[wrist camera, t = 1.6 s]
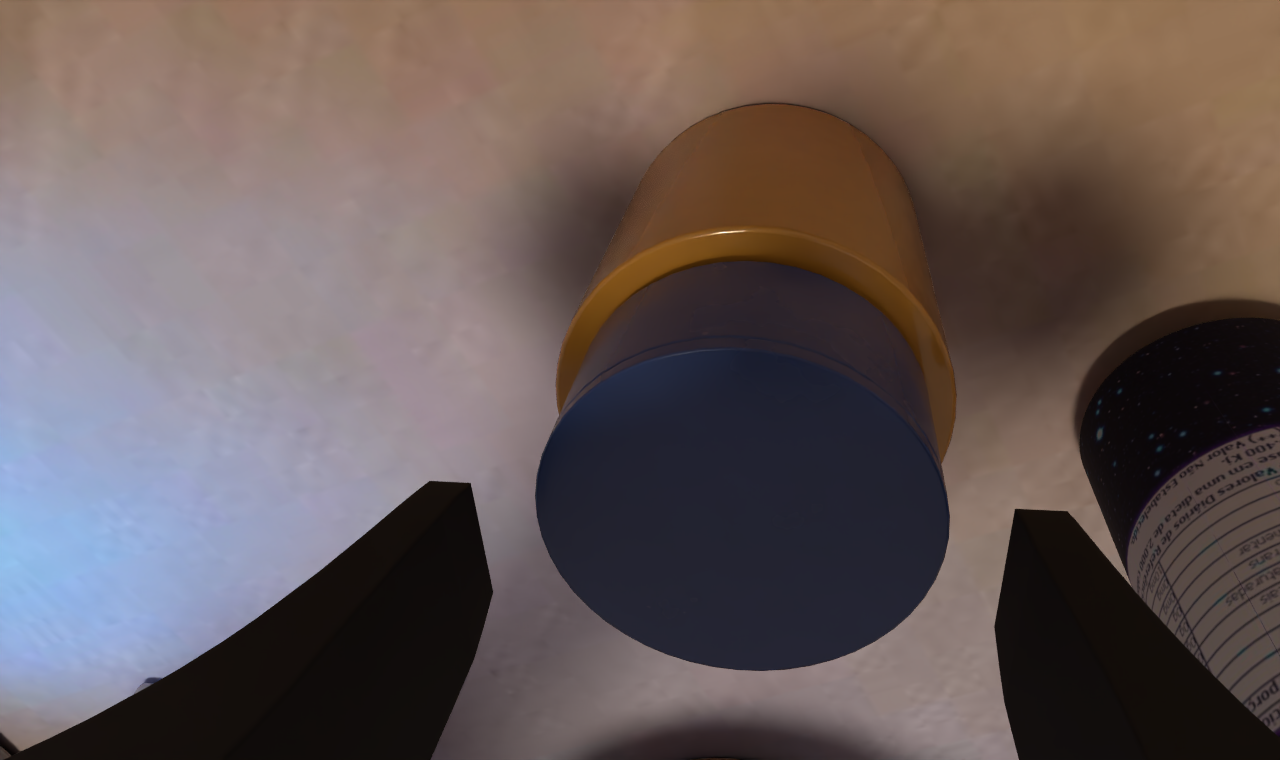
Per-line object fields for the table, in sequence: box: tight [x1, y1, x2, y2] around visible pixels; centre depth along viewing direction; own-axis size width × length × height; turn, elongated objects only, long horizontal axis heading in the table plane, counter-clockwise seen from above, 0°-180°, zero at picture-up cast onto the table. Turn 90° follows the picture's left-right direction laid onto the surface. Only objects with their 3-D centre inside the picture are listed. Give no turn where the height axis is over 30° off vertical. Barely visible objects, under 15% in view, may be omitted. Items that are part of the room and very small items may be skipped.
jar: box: [556, 104, 957, 464], centre depth 17 cm, size 7×7×10 cm
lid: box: [535, 261, 950, 671], centre depth 14 cm, size 6×6×3 cm
